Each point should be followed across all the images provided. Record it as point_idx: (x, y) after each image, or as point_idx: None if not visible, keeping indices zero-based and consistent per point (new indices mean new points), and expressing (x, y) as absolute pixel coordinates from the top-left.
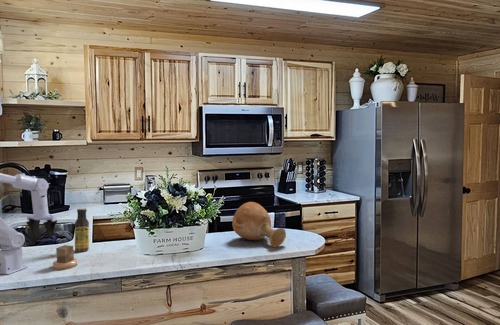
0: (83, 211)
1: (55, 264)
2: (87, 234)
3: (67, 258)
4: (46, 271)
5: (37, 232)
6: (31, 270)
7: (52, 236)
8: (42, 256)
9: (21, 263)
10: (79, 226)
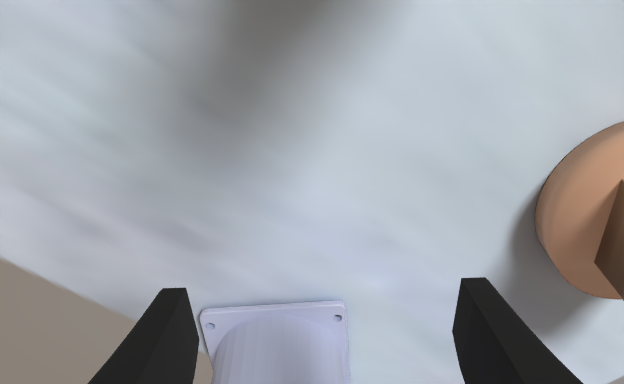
0: None
1: (612, 297)
2: None
3: None
4: (549, 312)
5: (177, 354)
6: (424, 327)
7: (488, 284)
8: (171, 51)
9: (336, 364)
10: None
